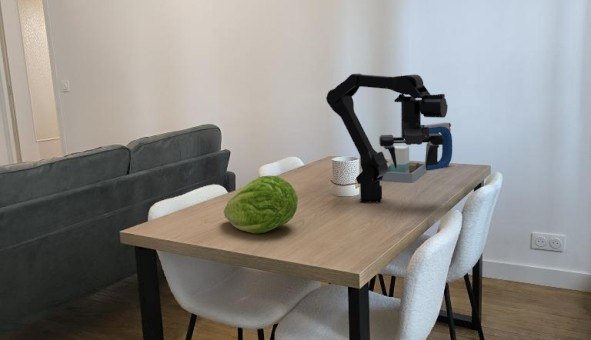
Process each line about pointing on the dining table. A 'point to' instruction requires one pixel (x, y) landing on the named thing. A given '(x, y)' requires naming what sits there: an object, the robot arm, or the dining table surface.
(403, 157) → the carton
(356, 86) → the robot arm
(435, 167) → the handheld scanner
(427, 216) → the dining table surface
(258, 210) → the lettuce
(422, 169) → the tote
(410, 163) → the walnut block
